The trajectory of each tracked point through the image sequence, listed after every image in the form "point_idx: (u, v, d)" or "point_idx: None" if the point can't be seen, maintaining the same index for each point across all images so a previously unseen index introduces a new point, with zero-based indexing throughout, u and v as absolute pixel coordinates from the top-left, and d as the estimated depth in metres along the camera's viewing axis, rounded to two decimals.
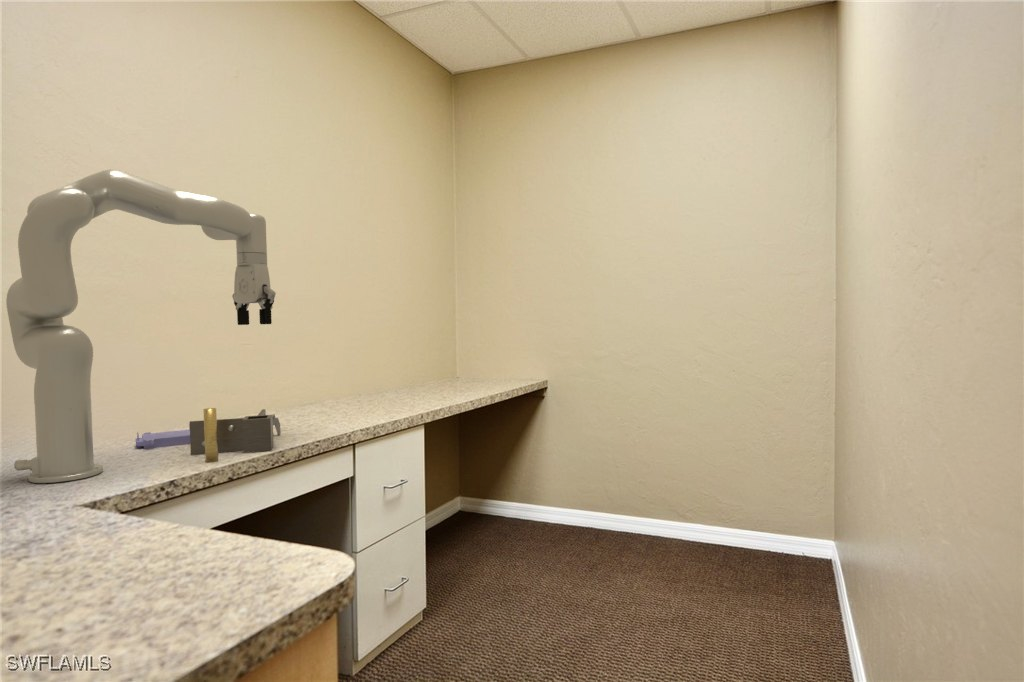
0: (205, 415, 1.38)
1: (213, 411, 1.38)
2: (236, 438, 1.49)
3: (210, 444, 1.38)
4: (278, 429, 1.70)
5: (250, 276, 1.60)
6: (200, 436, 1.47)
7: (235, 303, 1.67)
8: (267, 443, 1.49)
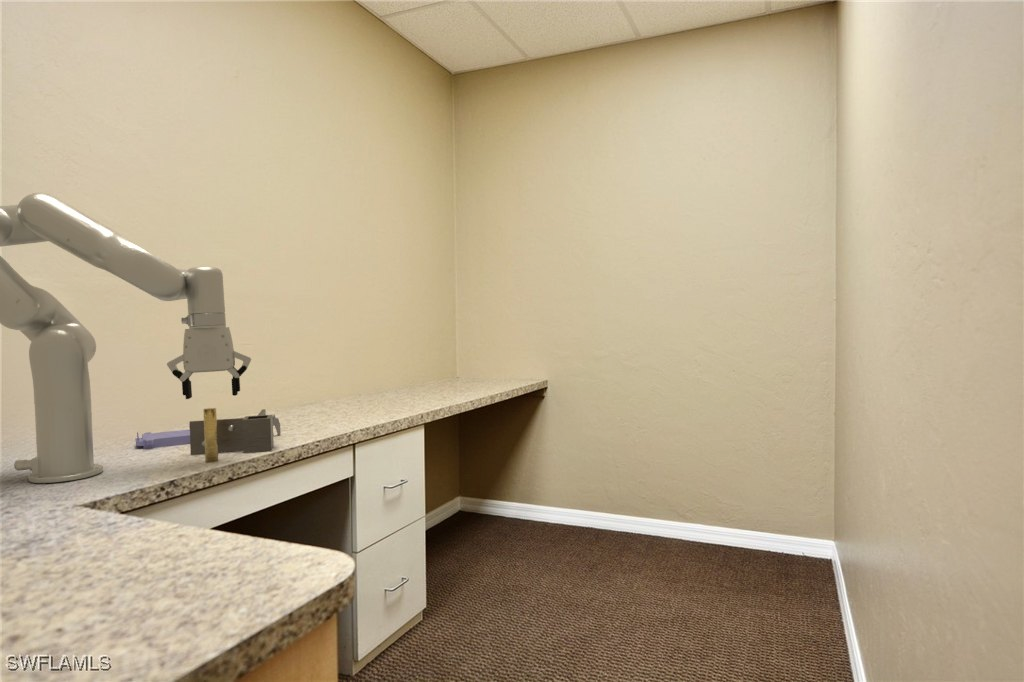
0: (205, 415, 1.38)
1: (213, 411, 1.38)
2: (236, 438, 1.49)
3: (210, 444, 1.38)
4: (278, 429, 1.70)
5: (220, 341, 1.37)
6: (200, 436, 1.47)
7: (176, 373, 1.36)
8: (267, 443, 1.49)
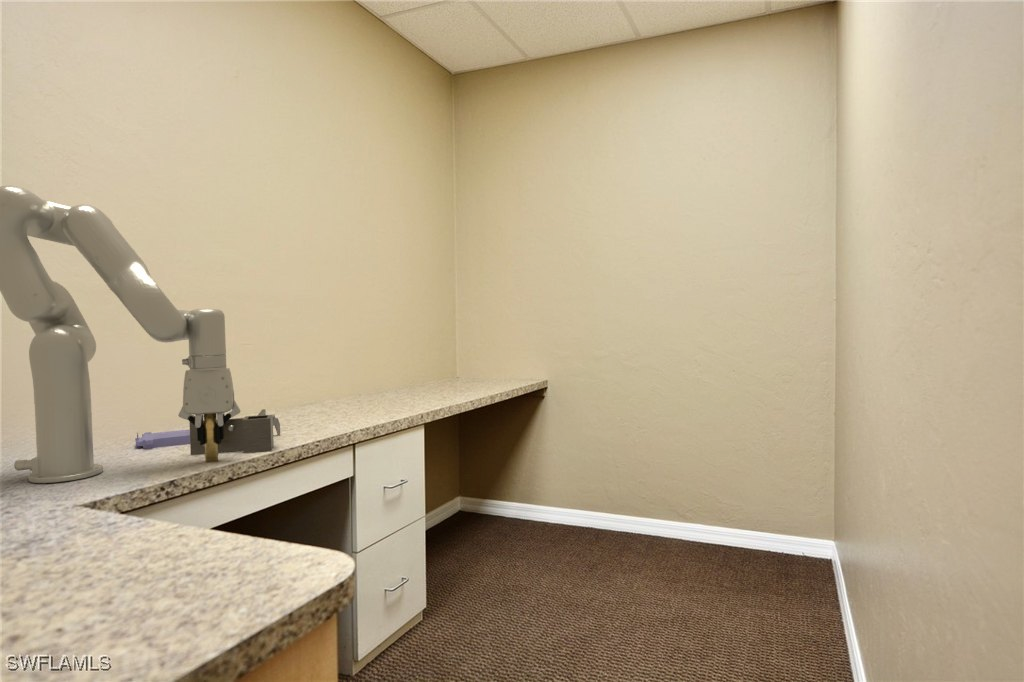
0: (205, 415, 1.38)
1: None
2: (236, 438, 1.49)
3: (210, 444, 1.38)
4: (278, 429, 1.70)
5: (221, 383, 1.37)
6: None
7: (191, 419, 1.37)
8: (267, 443, 1.49)
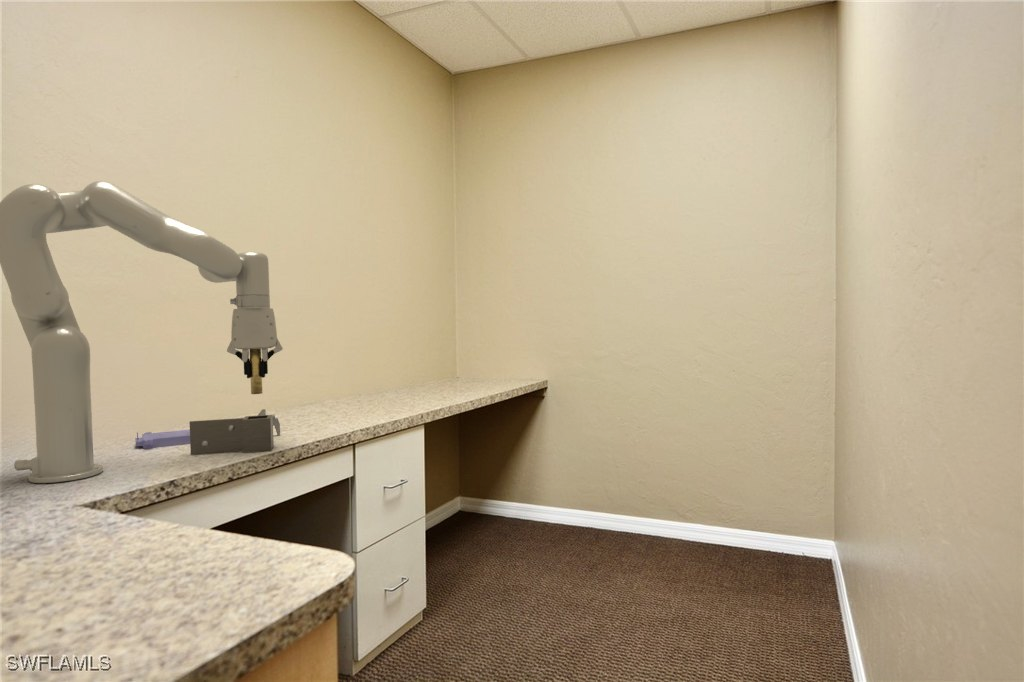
0: (251, 350, 1.49)
1: None
2: (236, 438, 1.49)
3: (256, 377, 1.49)
4: (278, 429, 1.70)
5: (265, 321, 1.49)
6: (200, 436, 1.47)
7: (238, 354, 1.49)
8: (267, 443, 1.49)
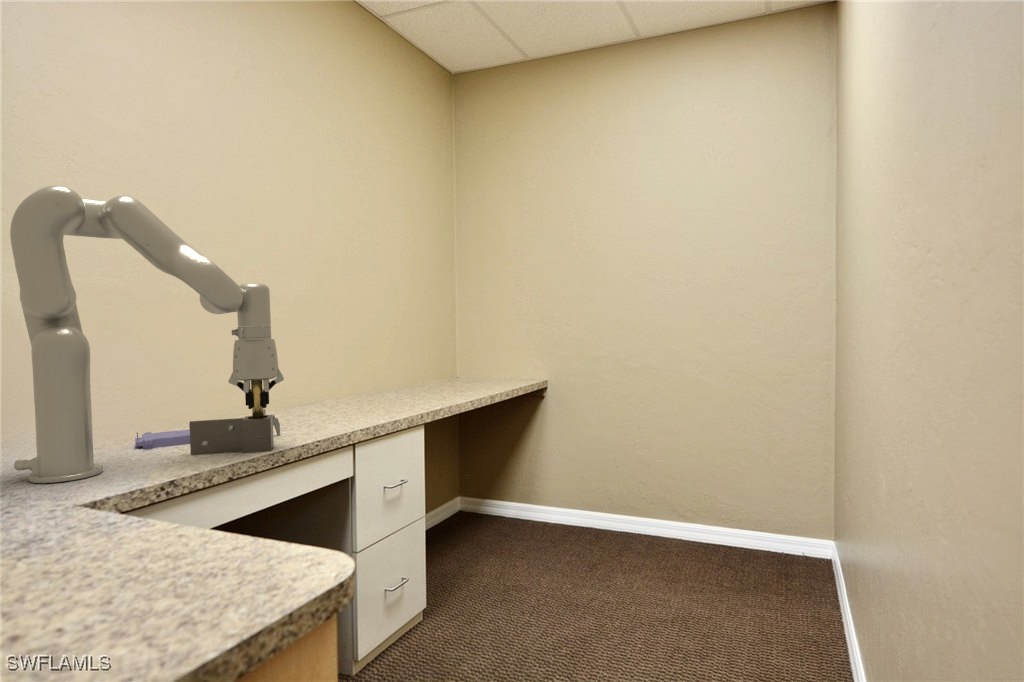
0: (252, 381, 1.50)
1: None
2: (236, 438, 1.49)
3: (257, 408, 1.50)
4: (278, 429, 1.70)
5: (267, 352, 1.49)
6: (200, 436, 1.47)
7: (240, 385, 1.49)
8: (267, 443, 1.49)
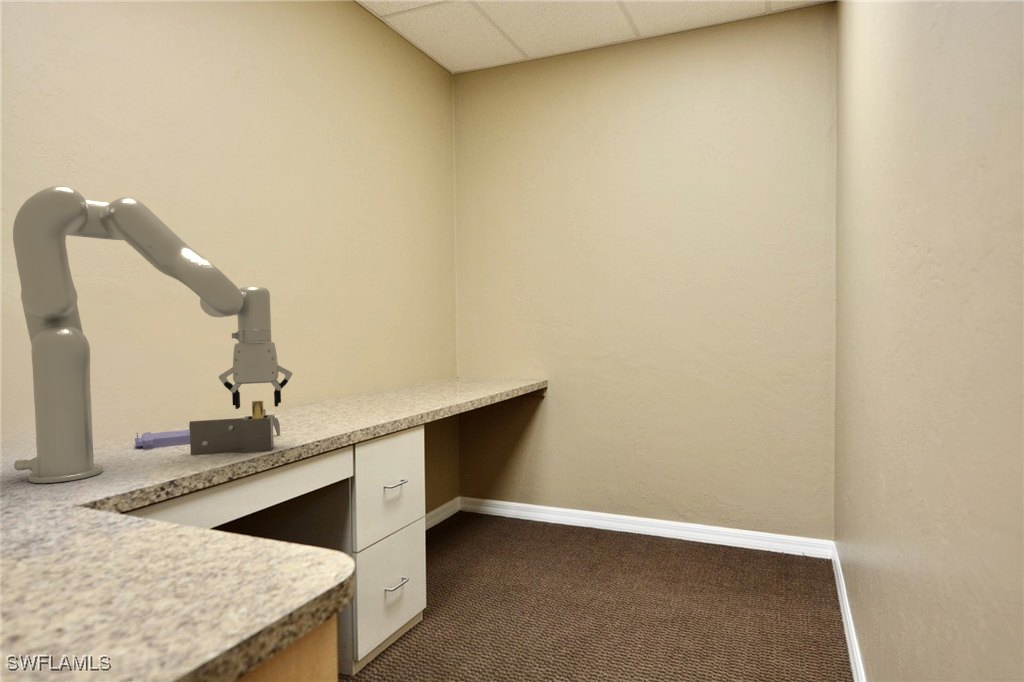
0: (253, 407, 1.50)
1: (261, 403, 1.50)
2: (236, 438, 1.49)
3: None
4: (277, 429, 1.70)
5: (267, 355, 1.49)
6: (200, 436, 1.47)
7: (227, 385, 1.48)
8: (267, 443, 1.49)
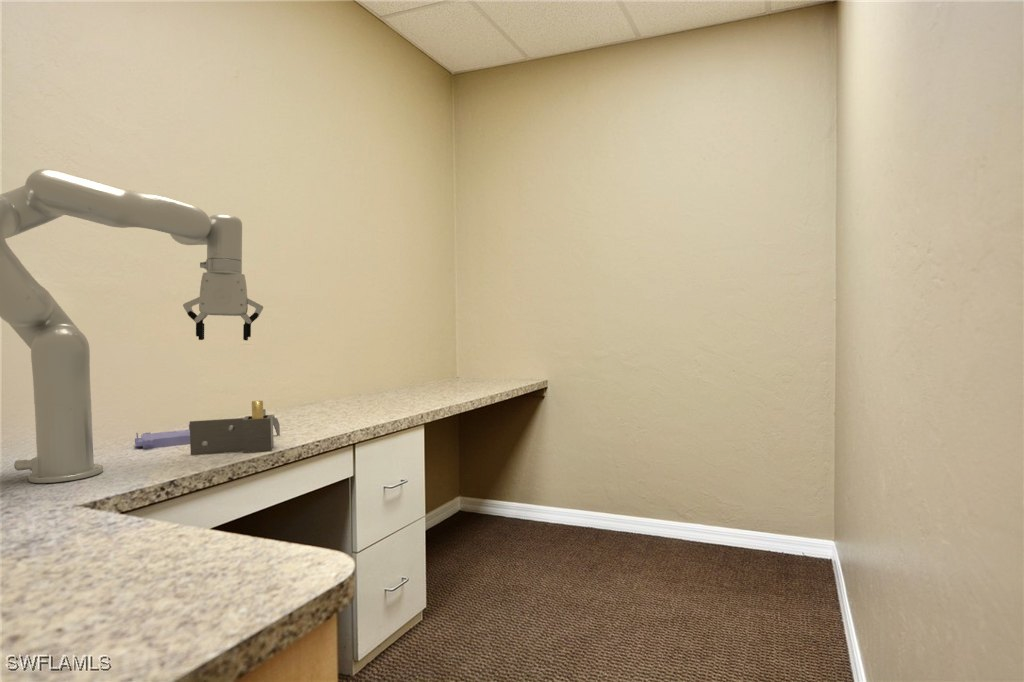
0: (253, 407, 1.50)
1: (260, 403, 1.50)
2: (236, 438, 1.49)
3: None
4: (277, 429, 1.70)
5: (236, 286, 1.43)
6: (200, 436, 1.47)
7: (191, 314, 1.42)
8: (267, 443, 1.49)
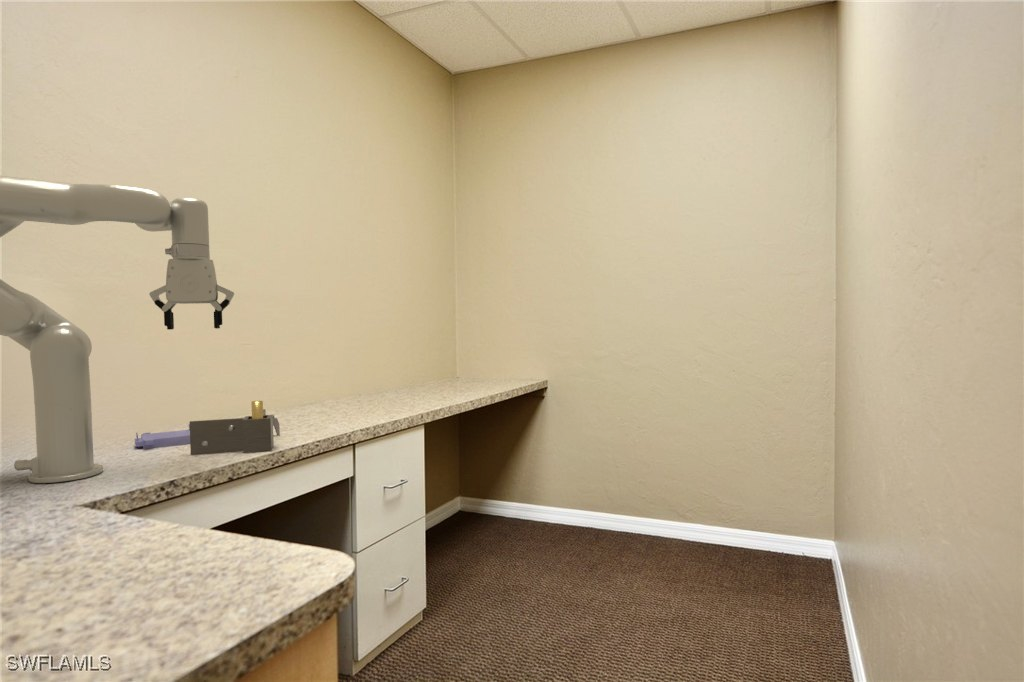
0: (253, 407, 1.50)
1: (260, 403, 1.50)
2: (236, 438, 1.49)
3: None
4: (277, 429, 1.70)
5: (203, 272, 1.37)
6: (200, 436, 1.47)
7: (158, 303, 1.36)
8: (267, 443, 1.49)
